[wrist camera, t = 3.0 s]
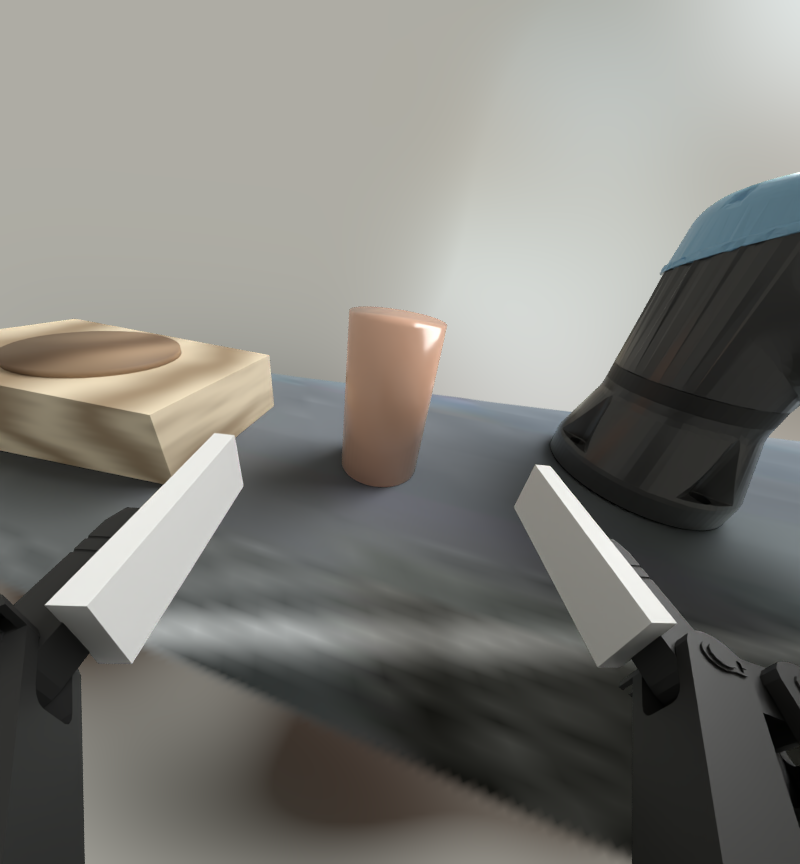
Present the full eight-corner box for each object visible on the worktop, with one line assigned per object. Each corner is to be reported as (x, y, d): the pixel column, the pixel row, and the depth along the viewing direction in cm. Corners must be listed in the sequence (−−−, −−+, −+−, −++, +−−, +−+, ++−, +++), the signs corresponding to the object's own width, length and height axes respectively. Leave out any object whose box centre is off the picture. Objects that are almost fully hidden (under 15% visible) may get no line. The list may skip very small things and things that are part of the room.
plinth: (273, 405, 30) (268, 350, 27) (175, 486, 19) (147, 407, 16) (97, 371, 31) (72, 313, 28) (-98, 430, 20) (-176, 343, 17)
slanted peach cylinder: (430, 469, 25) (466, 327, 19) (372, 498, 21) (394, 330, 15) (383, 434, 28) (401, 307, 22) (327, 454, 24) (329, 305, 18)
